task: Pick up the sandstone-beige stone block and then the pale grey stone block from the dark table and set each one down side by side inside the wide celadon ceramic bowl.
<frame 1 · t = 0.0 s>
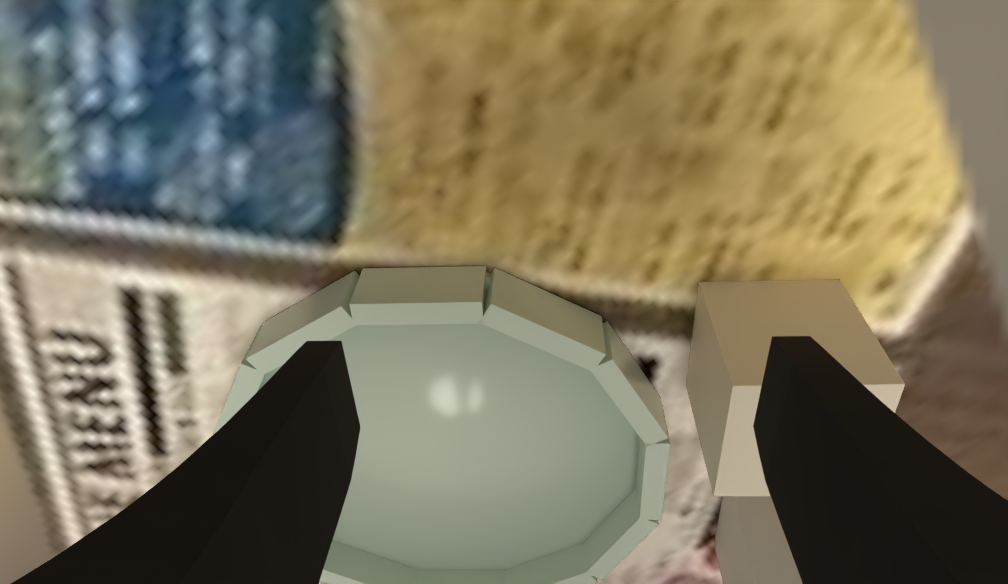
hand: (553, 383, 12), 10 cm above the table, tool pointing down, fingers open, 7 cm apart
beige stone block: (758, 334, 24), on the table
grey stone block: (775, 508, 29), on the table
serving bowl: (447, 442, 28), on the table
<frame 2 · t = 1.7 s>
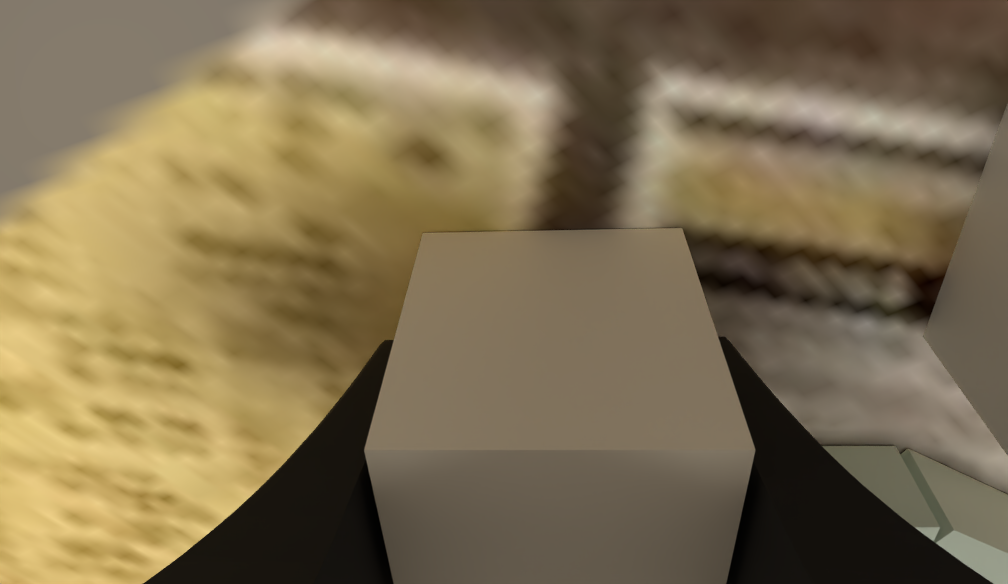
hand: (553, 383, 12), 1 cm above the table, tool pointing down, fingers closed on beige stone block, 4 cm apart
beige stone block: (551, 332, 13), on the table, touching gripper
when the fingers open (3 cm above the table, at t = 5.4 s): beige stone block drops 1 cm, resting on serving bowl.
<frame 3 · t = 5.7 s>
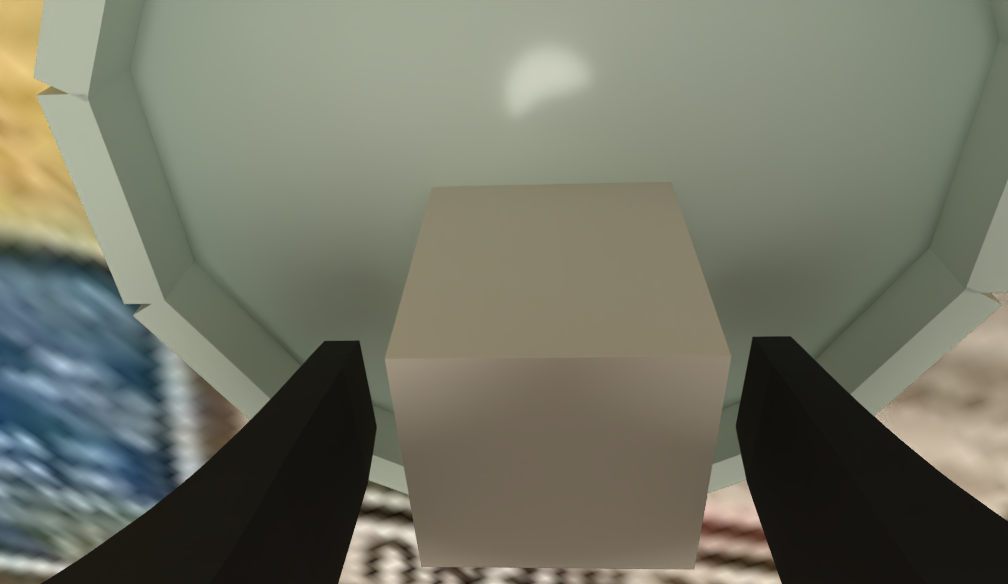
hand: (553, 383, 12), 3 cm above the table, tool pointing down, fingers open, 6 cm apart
beige stone block: (551, 283, 14), point 1 cm above the table, touching serving bowl
serving bowl: (549, 150, 13), on the table
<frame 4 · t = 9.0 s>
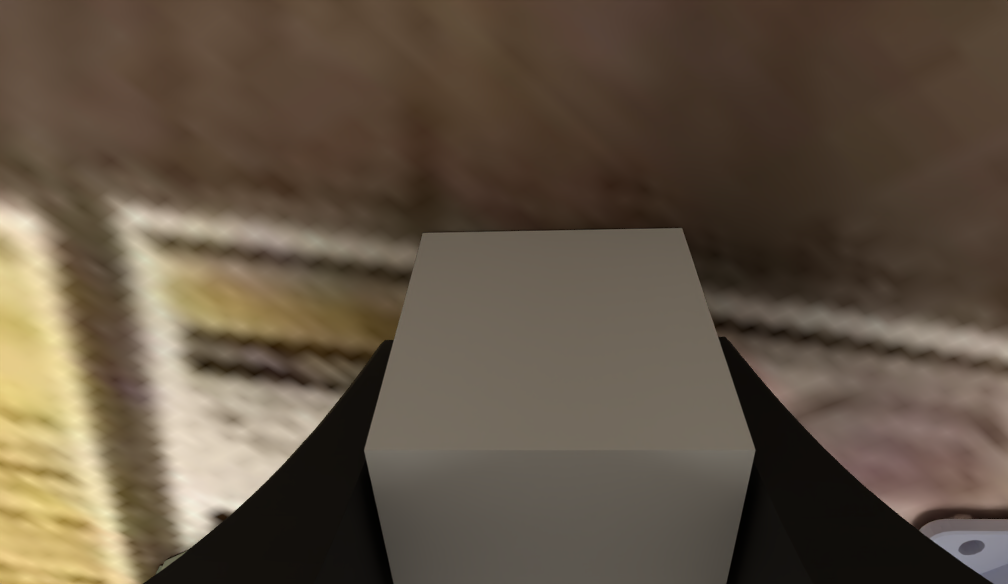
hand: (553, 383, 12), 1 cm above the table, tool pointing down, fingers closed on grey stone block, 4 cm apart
grey stone block: (551, 332, 13), on the table, touching gripper
when the fingers open (3 cm above the table, at t = 12.3 s): grey stone block drops 1 cm, resting on serving bowl.
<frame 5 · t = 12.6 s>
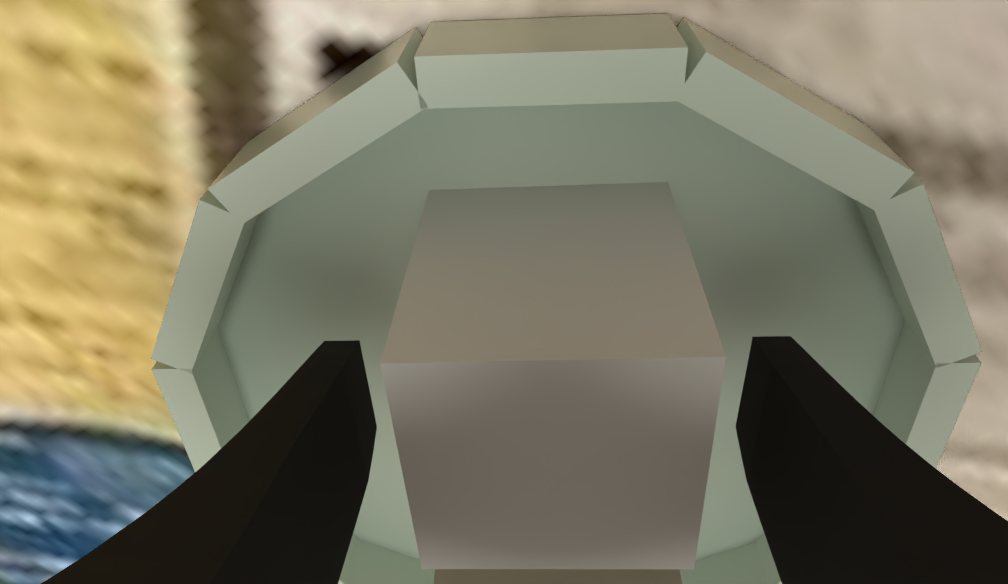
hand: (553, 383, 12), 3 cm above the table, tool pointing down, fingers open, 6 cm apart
beige stone block: (553, 472, 18), point 1 cm above the table, touching serving bowl
grey stone block: (549, 284, 15), point 1 cm above the table, touching serving bowl
serving bowl: (551, 376, 17), on the table
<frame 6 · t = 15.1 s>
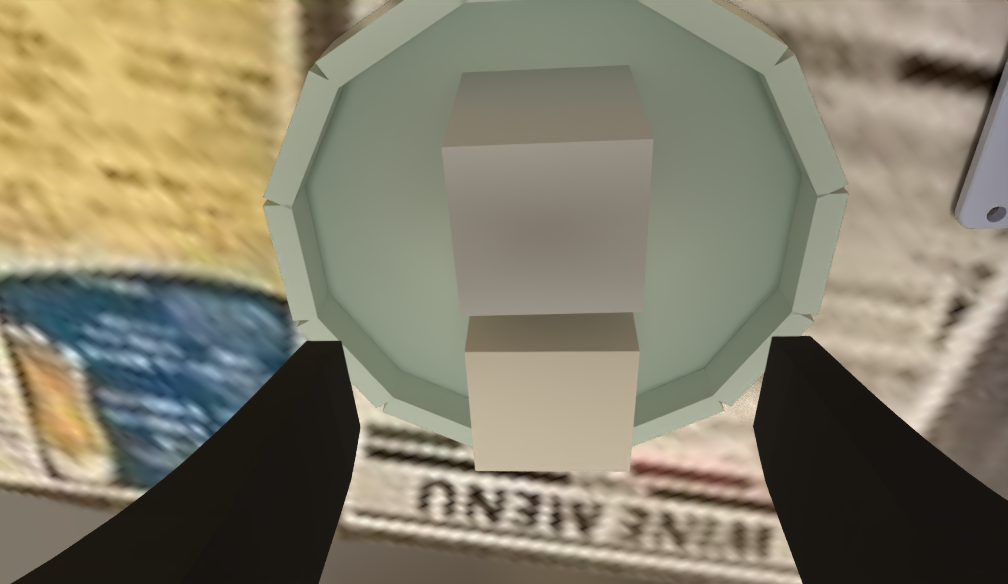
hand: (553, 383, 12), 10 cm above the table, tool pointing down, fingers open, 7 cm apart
beige stone block: (549, 306, 23), point 1 cm above the table, touching serving bowl
grey stone block: (547, 146, 20), point 1 cm above the table, touching serving bowl
serving bowl: (548, 227, 22), on the table
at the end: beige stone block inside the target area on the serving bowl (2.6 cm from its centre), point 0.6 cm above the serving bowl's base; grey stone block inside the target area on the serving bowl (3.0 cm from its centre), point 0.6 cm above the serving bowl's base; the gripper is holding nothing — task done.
